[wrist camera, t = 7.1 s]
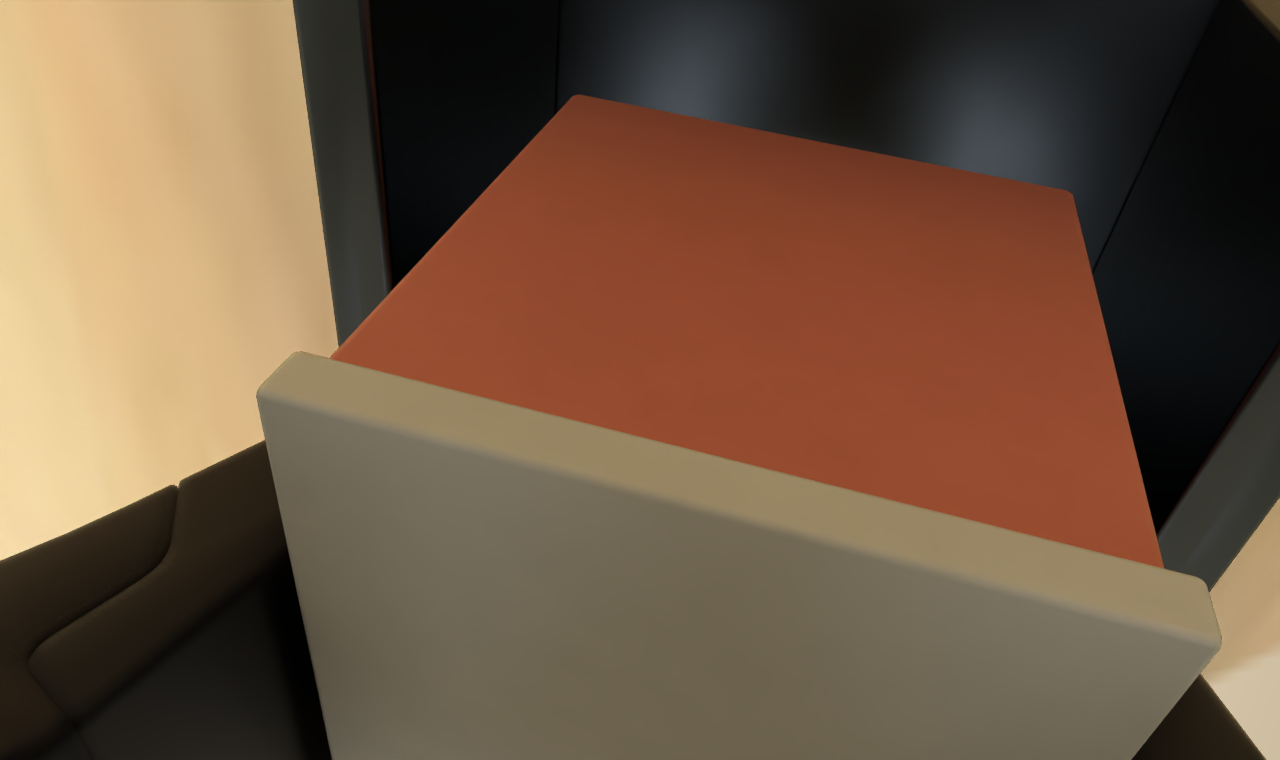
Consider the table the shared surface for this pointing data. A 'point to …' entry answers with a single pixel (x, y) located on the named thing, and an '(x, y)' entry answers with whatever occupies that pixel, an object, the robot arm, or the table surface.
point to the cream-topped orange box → (731, 470)
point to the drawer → (891, 125)
